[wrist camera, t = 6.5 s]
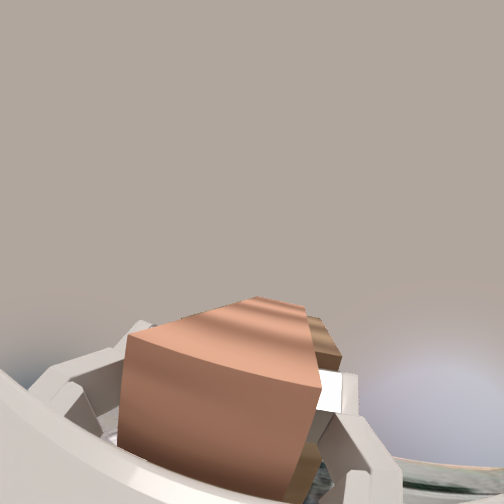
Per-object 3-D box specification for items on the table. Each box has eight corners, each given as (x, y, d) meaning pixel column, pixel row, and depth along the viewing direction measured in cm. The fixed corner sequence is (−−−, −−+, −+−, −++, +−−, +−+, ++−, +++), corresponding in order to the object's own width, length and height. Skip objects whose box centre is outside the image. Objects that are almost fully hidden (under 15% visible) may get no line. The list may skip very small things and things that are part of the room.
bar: (281, 500, 5) (322, 388, 5) (117, 446, 6) (127, 333, 6) (296, 341, 25) (304, 306, 25) (249, 330, 25) (257, 296, 25)
